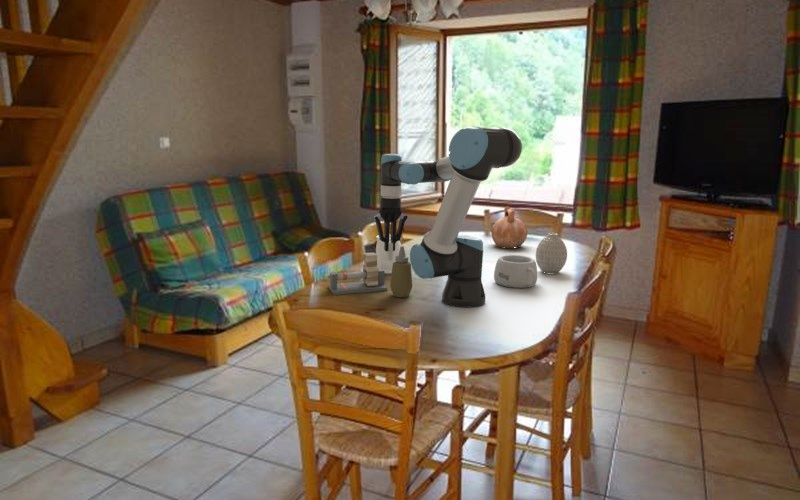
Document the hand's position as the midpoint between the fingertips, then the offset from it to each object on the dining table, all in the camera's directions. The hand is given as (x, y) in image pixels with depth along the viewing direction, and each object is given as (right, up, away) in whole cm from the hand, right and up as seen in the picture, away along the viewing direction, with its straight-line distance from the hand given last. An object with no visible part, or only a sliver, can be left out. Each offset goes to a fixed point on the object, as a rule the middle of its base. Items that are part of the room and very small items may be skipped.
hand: (389, 259), depth 211 cm
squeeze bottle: (+4, -13, -9) cm, 16 cm away
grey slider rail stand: (-12, -11, -2) cm, 16 cm away
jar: (-1, -6, +24) cm, 24 cm away
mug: (+50, -10, +8) cm, 52 cm away
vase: (+68, -6, +28) cm, 73 cm away
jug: (+59, +5, +77) cm, 97 cm away
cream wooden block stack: (-7, -9, -1) cm, 11 cm away
